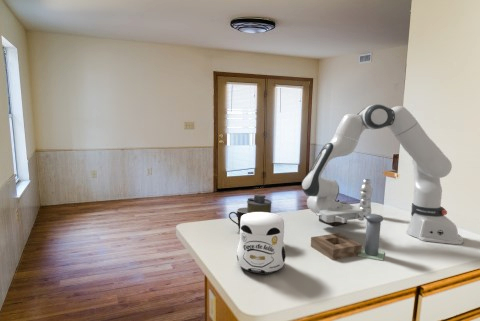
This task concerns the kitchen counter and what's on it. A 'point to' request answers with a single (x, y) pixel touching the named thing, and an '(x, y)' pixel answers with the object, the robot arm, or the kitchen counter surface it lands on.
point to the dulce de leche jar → (261, 242)
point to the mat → (378, 257)
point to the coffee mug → (239, 215)
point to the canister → (258, 204)
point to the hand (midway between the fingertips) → (354, 219)
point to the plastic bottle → (366, 197)
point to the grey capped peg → (372, 234)
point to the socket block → (335, 246)
